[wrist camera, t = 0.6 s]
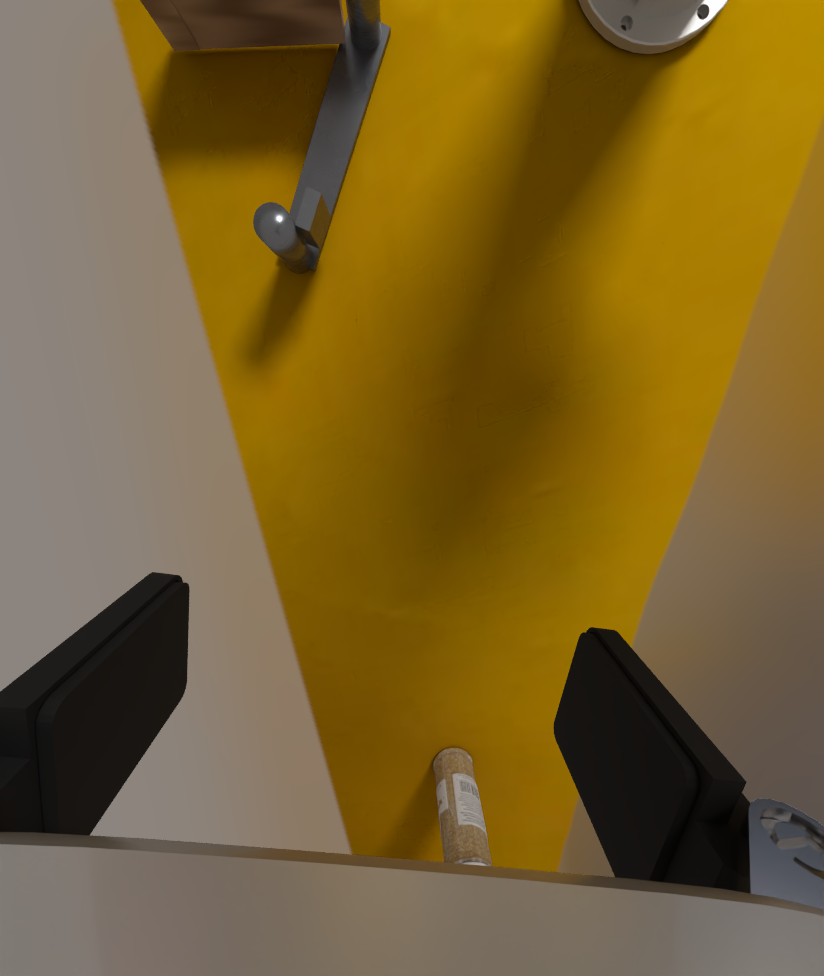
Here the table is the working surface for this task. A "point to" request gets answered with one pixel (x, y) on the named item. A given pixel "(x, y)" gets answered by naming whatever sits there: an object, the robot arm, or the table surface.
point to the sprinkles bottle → (460, 809)
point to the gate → (247, 22)
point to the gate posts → (329, 143)
